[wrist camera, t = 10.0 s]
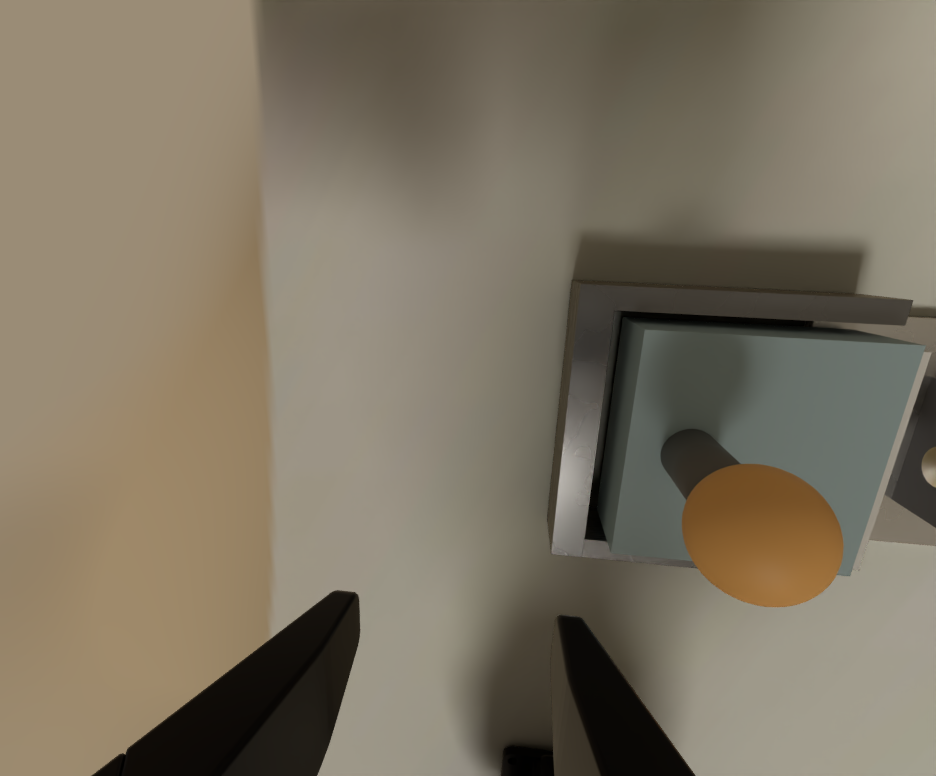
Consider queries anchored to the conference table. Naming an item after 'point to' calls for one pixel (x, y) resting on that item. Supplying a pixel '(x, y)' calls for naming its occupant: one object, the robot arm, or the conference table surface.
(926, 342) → the press frame
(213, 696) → the robot arm
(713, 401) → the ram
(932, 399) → the block
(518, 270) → the conference table surface
